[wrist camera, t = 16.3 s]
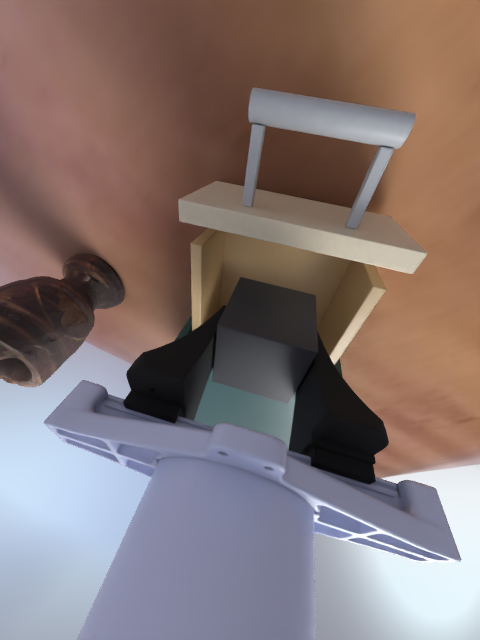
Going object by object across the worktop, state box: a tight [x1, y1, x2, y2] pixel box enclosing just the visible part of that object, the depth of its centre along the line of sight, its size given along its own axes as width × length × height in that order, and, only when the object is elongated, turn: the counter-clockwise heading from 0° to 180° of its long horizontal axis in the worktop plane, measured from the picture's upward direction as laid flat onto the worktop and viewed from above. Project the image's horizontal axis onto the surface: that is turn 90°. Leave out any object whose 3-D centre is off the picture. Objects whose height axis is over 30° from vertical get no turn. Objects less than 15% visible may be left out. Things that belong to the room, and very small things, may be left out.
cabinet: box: [175, 315, 342, 450], centre depth 26 cm, size 14×14×8 cm
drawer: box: [178, 87, 427, 365], centre depth 17 cm, size 18×13×7 cm
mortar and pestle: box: [0, 254, 124, 387], centre depth 20 cm, size 12×9×20 cm
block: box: [212, 277, 318, 404], centre depth 14 cm, size 5×5×5 cm
